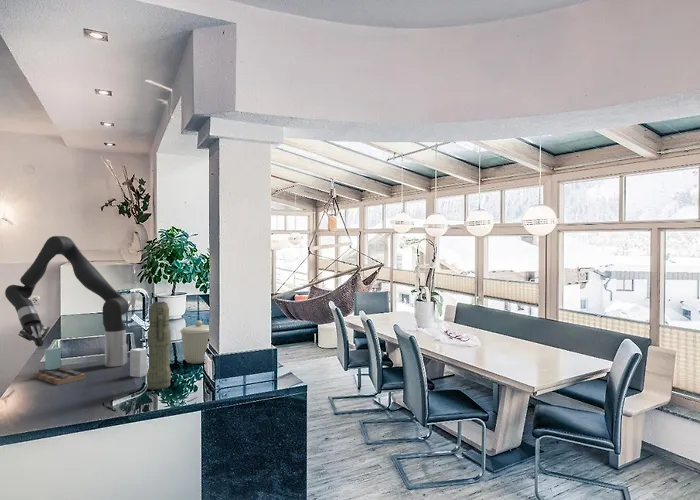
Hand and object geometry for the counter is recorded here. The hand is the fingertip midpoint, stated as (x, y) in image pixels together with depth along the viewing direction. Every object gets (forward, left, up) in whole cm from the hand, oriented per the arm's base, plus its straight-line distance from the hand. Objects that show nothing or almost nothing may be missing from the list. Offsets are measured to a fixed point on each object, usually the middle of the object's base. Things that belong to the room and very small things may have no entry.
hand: (40, 345), depth 199 cm
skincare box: (-48, +14, -13) cm, 52 cm away
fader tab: (-9, +8, -10) cm, 16 cm away
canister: (-70, -8, -13) cm, 72 cm away
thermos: (-62, +32, -13) cm, 71 cm away
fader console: (-14, +12, -12) cm, 22 cm away
